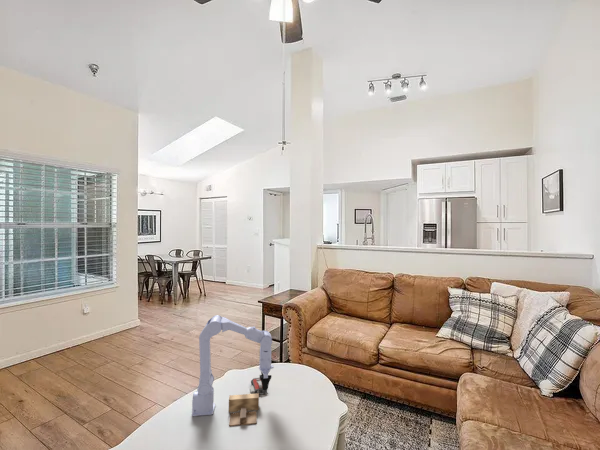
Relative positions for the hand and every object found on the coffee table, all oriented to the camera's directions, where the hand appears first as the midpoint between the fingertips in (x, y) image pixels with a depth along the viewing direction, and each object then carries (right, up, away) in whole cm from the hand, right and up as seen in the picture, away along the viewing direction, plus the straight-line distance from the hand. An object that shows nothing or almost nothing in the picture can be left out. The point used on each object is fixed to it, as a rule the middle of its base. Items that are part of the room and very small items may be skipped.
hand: (264, 385), depth 142 cm
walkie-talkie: (-5, -11, +12) cm, 16 cm away
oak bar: (-10, -10, -2) cm, 14 cm away
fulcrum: (-9, -10, -10) cm, 17 cm away
